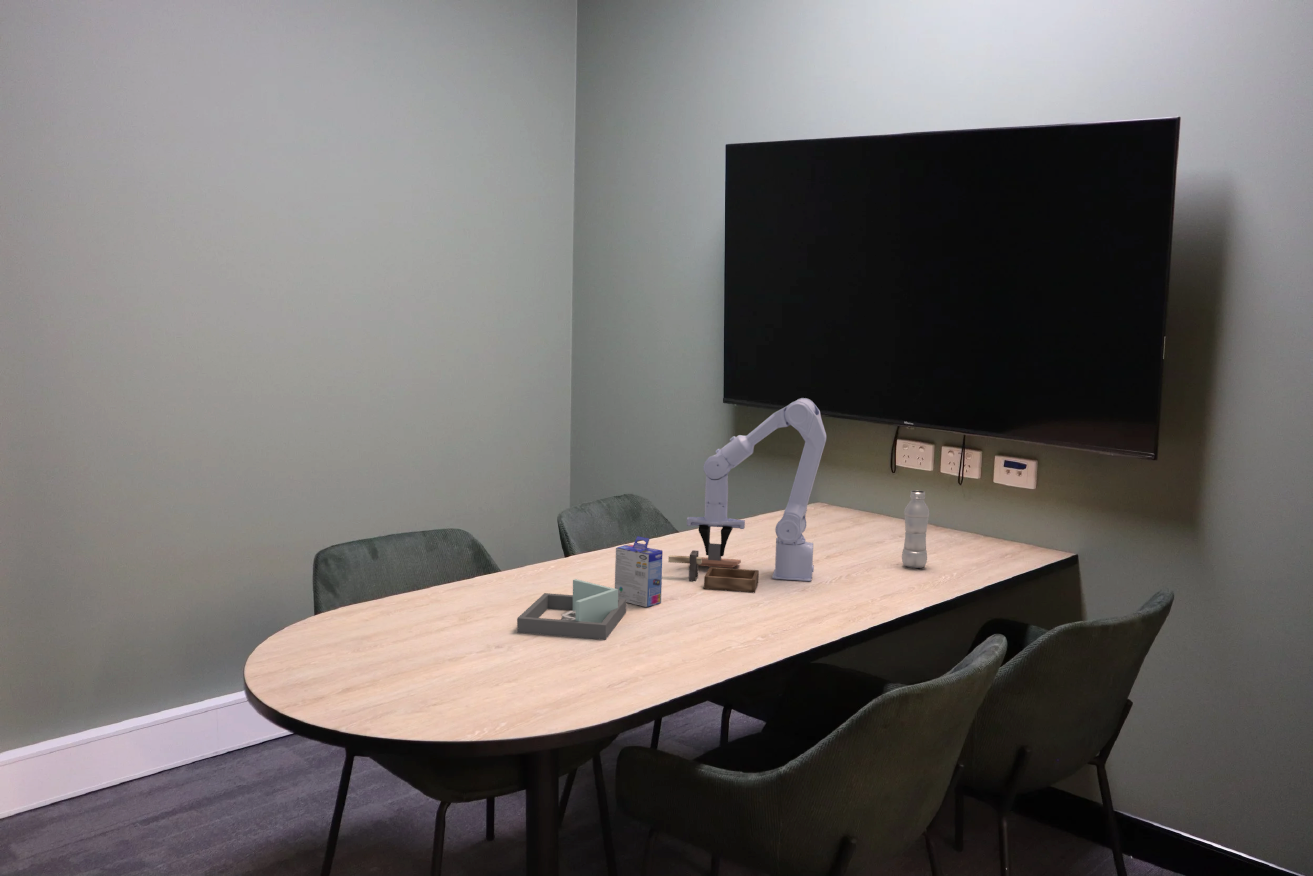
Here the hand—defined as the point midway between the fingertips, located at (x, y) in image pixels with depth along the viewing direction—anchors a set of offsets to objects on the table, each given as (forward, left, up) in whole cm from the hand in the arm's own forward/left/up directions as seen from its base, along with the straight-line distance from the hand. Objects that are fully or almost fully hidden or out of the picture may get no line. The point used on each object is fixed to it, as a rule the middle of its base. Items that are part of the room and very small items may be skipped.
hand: (714, 554), depth 253 cm
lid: (0, -1, -3) cm, 3 cm away
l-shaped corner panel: (+22, +50, -4) cm, 55 cm away
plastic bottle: (-50, -15, -4) cm, 52 cm away
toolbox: (-4, +13, -4) cm, 14 cm away
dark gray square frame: (+23, +50, -4) cm, 55 cm away
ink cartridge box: (+13, +32, -4) cm, 35 cm away
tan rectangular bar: (+6, +10, 0) cm, 12 cm away
